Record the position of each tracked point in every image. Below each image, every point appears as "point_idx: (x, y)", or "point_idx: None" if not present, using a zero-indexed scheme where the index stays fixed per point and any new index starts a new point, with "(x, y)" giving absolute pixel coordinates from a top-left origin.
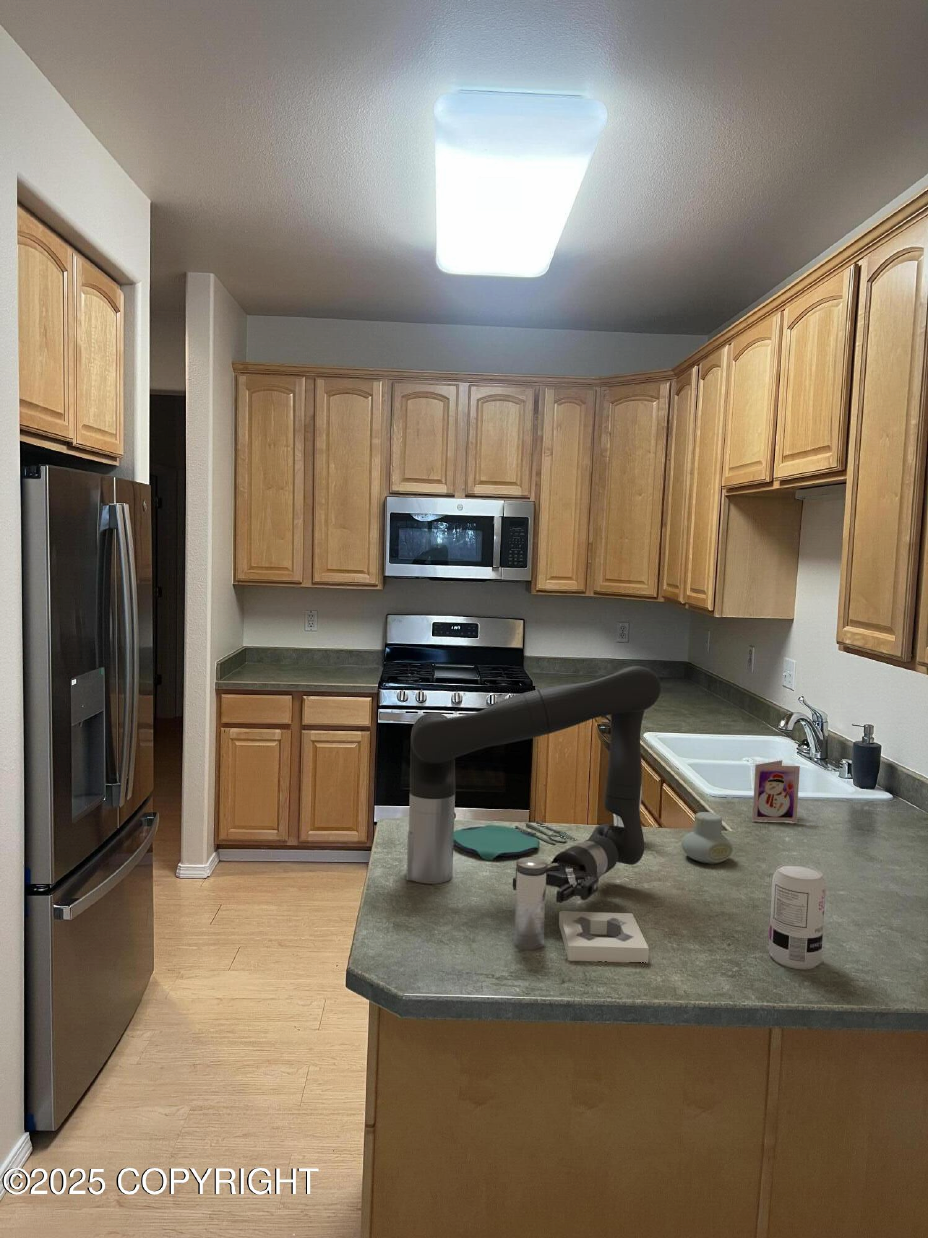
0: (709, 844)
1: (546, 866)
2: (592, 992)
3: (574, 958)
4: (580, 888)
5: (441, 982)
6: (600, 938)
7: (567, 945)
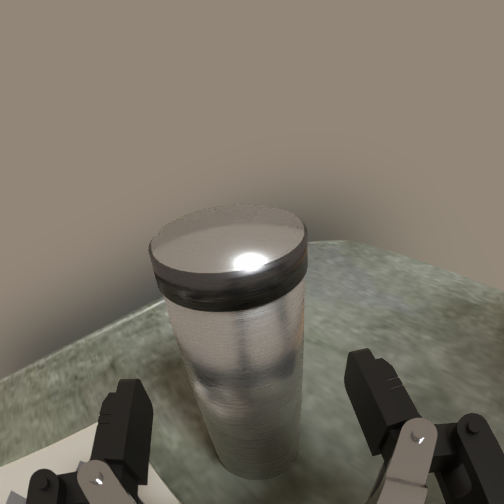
0: None
1: (149, 252)
2: (64, 364)
3: None
4: (64, 474)
5: None
6: None
7: None
